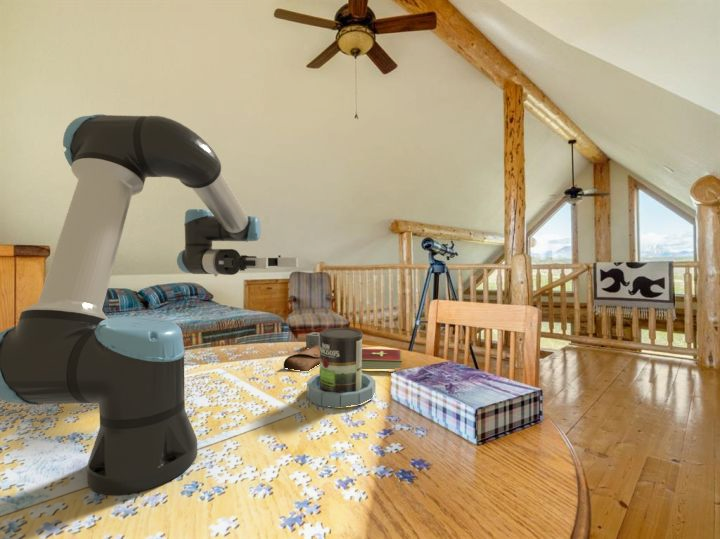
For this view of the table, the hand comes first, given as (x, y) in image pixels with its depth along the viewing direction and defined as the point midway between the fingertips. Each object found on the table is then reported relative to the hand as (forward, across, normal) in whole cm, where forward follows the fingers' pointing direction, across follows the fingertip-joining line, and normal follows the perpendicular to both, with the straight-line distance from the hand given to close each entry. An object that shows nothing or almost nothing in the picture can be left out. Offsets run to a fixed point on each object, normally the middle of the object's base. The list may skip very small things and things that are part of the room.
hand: (283, 262), depth 98 cm
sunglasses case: (+1, -14, -32) cm, 35 cm away
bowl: (+20, +4, -31) cm, 37 cm away
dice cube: (-7, -29, -31) cm, 43 cm away
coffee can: (+20, +4, -31) cm, 37 cm away
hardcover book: (+17, -18, -32) cm, 40 cm away
